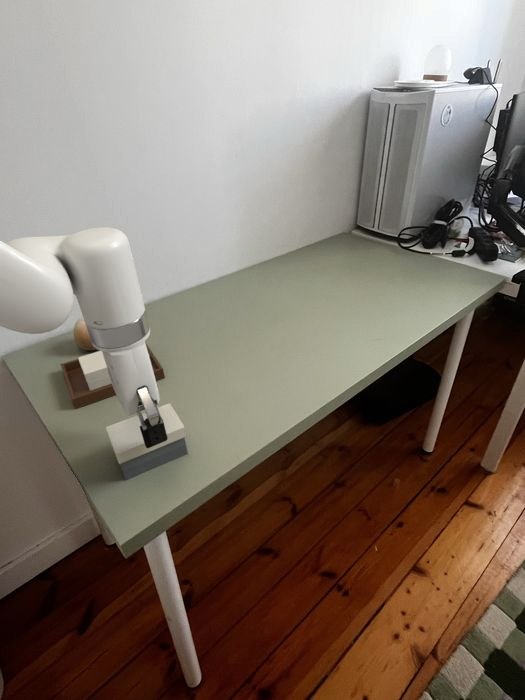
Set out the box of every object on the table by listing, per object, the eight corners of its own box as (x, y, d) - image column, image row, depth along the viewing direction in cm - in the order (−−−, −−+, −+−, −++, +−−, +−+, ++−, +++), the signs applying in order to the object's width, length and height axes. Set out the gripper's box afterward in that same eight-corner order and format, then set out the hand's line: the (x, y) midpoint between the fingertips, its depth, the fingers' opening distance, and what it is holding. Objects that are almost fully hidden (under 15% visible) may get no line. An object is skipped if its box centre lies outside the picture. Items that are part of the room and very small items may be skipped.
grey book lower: (125, 480, 65) (122, 471, 64) (116, 455, 69) (113, 446, 68) (187, 453, 69) (186, 444, 68) (175, 431, 73) (173, 423, 72)
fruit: (70, 353, 95) (59, 322, 90) (89, 336, 101) (80, 305, 96) (101, 357, 93) (91, 325, 89) (119, 339, 99) (110, 308, 95)
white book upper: (87, 382, 82) (84, 374, 80) (80, 365, 86) (77, 357, 85) (141, 365, 86) (139, 356, 85) (131, 349, 91) (129, 341, 89)
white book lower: (90, 391, 83) (87, 382, 82) (83, 373, 88) (80, 365, 86) (143, 373, 87) (141, 365, 86) (133, 357, 92) (131, 349, 91)
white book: (119, 464, 62) (115, 454, 61) (108, 436, 67) (105, 427, 66) (186, 436, 66) (184, 427, 65) (171, 412, 71) (169, 402, 70)
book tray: (75, 409, 79) (71, 399, 78) (63, 373, 89) (60, 364, 88) (165, 378, 86) (163, 368, 85) (145, 347, 96) (143, 338, 94)
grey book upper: (122, 471, 64) (119, 462, 63) (113, 446, 68) (110, 437, 67) (186, 444, 68) (184, 435, 67) (173, 423, 72) (171, 414, 71)
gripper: (76, 308, 61) (108, 401, 71) (105, 369, 48) (138, 472, 58) (129, 294, 64) (152, 385, 73) (169, 348, 51) (191, 449, 61)
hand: (146, 423), depth 66 cm, fingers open, 9 cm apart
